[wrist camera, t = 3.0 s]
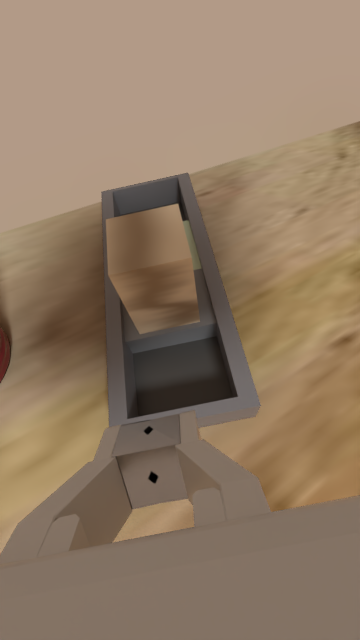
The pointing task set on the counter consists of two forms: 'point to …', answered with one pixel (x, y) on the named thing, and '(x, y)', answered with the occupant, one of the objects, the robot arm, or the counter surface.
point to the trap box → (175, 331)
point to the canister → (4, 353)
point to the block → (152, 268)
